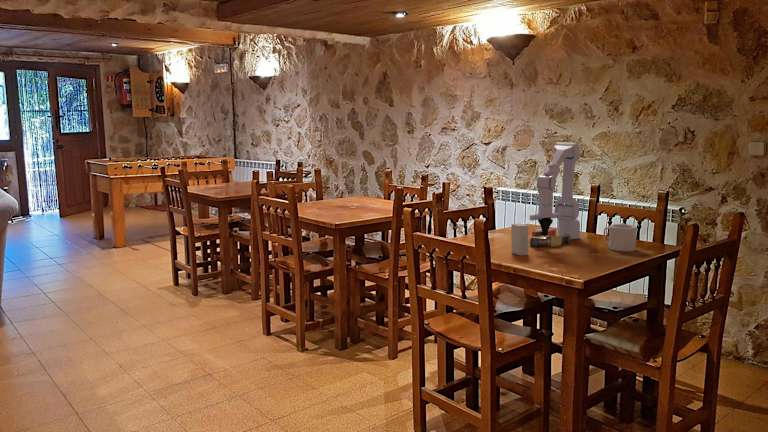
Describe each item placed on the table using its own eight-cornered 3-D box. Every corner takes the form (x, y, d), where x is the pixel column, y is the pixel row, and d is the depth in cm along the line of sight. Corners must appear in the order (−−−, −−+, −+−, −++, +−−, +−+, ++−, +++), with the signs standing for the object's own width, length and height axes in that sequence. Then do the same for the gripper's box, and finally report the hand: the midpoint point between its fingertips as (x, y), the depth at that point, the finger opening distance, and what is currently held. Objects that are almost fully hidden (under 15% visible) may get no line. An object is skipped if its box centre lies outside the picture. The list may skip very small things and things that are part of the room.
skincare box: (528, 254, 247) (529, 225, 245) (519, 256, 245) (520, 226, 243) (519, 251, 252) (519, 223, 250) (510, 252, 250) (511, 223, 249)
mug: (639, 249, 257) (641, 225, 255) (629, 253, 249) (631, 229, 248) (608, 244, 266) (609, 222, 264) (597, 248, 258) (598, 225, 257)
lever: (552, 233, 267) (552, 228, 266) (557, 234, 264) (557, 229, 264) (531, 236, 260) (531, 231, 260) (536, 237, 258) (536, 232, 258)
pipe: (563, 243, 271) (564, 233, 270) (570, 245, 266) (571, 235, 265) (529, 247, 264) (529, 236, 263) (536, 249, 260) (536, 238, 259)
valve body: (555, 244, 269) (555, 233, 268) (562, 246, 264) (562, 235, 264) (541, 245, 266) (542, 234, 266) (549, 247, 262) (549, 236, 261)
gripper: (553, 201, 264) (552, 232, 266) (525, 204, 258) (524, 235, 260) (564, 203, 257) (563, 235, 259) (535, 206, 252) (535, 238, 254)
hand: (544, 235), depth 259 cm, fingers closed, pressing on lever
